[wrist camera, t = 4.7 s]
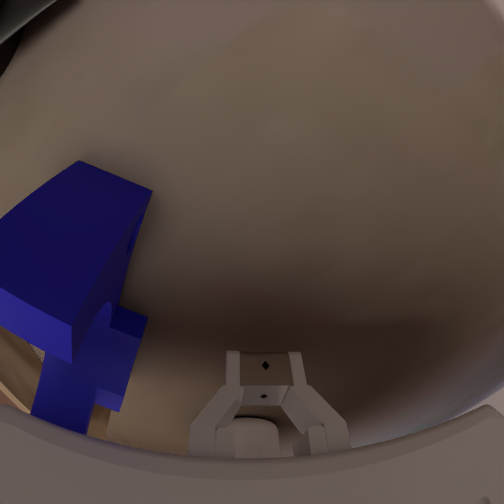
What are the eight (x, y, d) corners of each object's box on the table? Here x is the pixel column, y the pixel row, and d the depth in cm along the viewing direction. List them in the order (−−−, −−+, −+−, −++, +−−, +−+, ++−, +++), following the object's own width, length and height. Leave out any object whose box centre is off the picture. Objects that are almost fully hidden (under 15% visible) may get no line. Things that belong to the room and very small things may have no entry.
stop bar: (2, 82, 6) (-74, 105, 2) (111, 408, 19) (102, 449, 15) (-60, 114, 5) (-113, 143, 2) (55, 392, 18) (43, 428, 15)
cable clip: (129, 370, 15) (110, 457, 10) (64, 343, 14) (33, 425, 9) (194, 206, 9) (150, 358, 4) (81, 158, 8) (-40, 259, 3)
